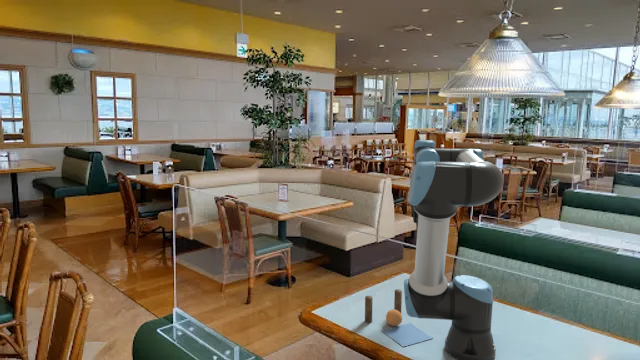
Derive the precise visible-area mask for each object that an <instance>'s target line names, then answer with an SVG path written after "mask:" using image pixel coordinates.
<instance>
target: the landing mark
mask: <svg viewBox="0 0 640 360" xmlns="http://www.w3.org/2000/svg"><path fill="white" fill-rule="evenodd" d="M381 332H383V333H384V334H385V335H387V336H388V337H389V338H391V339H392V340H393V341H395V343H397V344H398V343H399V344H400V345H399V344H398V345H399V346H401V347H402V345H403V347H402V348H405V347H404V346H406V347H409V346H413V345H416V344H419V343H422V342H426V341H427V342H428V341H430V340H433V337H431V336H430V335H429V334H427V333H426V332H425V331H423V330H421V329H420V328H418V327H417V326H416V325H414V324H413V323H411V322H408V323H403V324H399V325H398V326H392V327H390V328H389V327H388V328H384V329H381ZM408 345H409V346H408Z"/></svg>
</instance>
